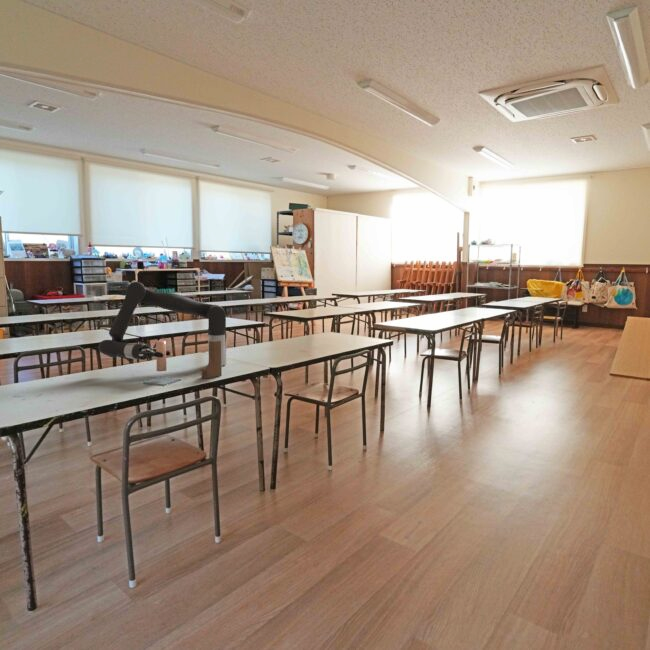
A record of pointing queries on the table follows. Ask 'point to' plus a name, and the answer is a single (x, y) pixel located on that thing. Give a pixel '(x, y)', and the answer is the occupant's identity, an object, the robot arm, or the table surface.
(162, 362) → the tan tall cylinder
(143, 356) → the robot arm
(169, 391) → the table surface
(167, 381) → the rubber mat
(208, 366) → the brown boot
